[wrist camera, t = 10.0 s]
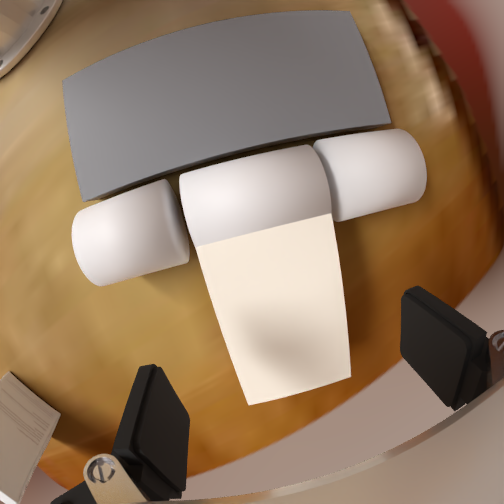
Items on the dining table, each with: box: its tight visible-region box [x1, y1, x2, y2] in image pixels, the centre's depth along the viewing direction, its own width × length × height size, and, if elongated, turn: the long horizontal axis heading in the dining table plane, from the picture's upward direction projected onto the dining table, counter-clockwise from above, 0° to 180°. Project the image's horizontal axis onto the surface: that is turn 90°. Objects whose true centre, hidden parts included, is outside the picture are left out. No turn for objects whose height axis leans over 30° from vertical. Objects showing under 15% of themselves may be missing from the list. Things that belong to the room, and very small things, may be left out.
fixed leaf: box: [62, 10, 427, 286], centre depth 13 cm, size 13×18×4 cm
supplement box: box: [0, 371, 61, 504], centre depth 13 cm, size 7×7×13 cm
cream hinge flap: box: [179, 145, 351, 405], centre depth 15 cm, size 13×6×4 cm, turn 14°
